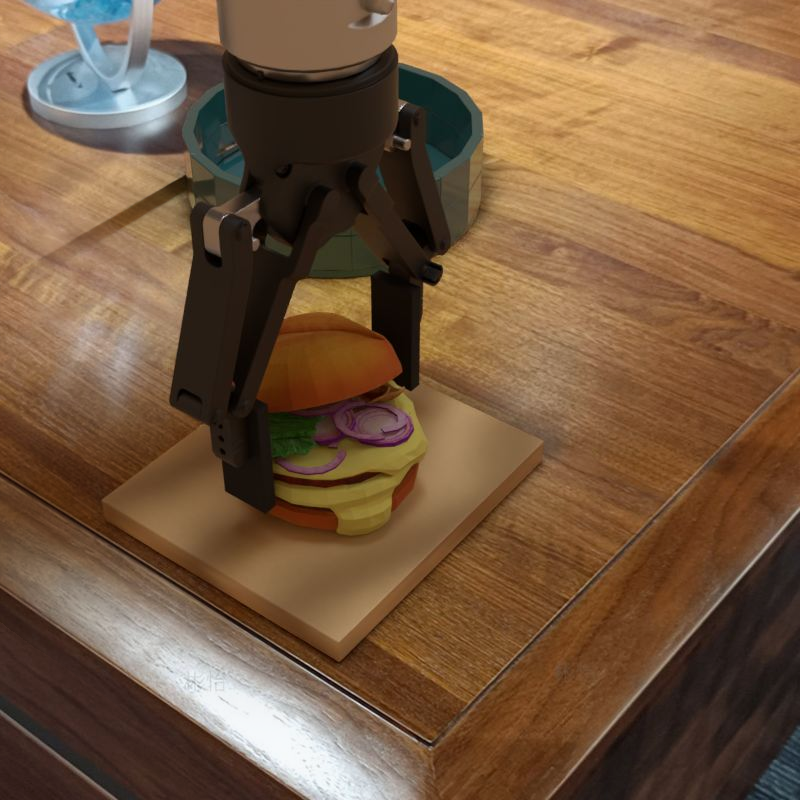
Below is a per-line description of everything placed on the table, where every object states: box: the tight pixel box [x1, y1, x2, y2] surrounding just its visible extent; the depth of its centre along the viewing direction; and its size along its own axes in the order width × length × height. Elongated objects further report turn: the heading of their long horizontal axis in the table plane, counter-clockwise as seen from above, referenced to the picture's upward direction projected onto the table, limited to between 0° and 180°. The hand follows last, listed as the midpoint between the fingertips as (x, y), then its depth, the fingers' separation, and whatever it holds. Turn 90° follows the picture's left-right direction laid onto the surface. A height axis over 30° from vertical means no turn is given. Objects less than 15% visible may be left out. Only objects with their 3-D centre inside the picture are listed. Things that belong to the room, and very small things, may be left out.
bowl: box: [181, 61, 485, 279], centre depth 95 cm, size 21×21×6 cm
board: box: [101, 382, 545, 663], centre depth 73 cm, size 16×18×2 cm
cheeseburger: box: [232, 311, 428, 536], centre depth 70 cm, size 10×11×10 cm
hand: (326, 435), depth 71 cm, fingers open, 11 cm apart
